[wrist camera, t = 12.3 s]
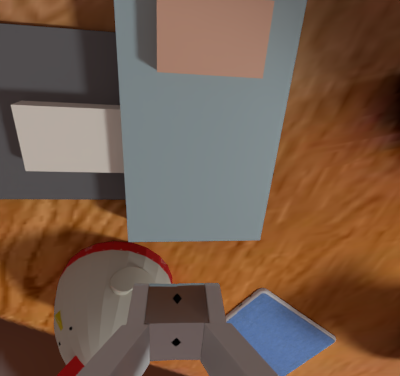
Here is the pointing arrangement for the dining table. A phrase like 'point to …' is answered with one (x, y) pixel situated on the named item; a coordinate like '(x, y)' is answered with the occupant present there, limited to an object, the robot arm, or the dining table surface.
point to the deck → (199, 133)
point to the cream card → (69, 136)
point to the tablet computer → (278, 331)
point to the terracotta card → (213, 37)
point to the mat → (54, 92)
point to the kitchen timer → (99, 297)
